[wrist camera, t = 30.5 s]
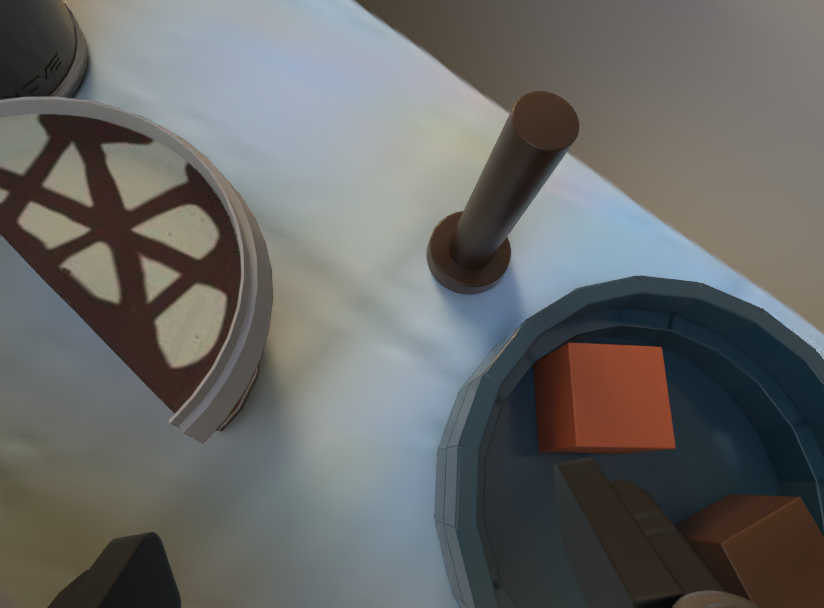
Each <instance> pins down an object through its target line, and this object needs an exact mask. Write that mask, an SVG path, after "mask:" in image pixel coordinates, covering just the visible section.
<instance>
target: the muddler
mask: <svg viewBox="0 0 824 608" xmlns="http://www.w3.org/2000/svg"><path fill="white" fill-rule="evenodd" d="M578 132H579V121H578V117H577V114H576V112H575V111H574V109H573V108H572V106H571V105H570V104H569V103H568V102H567V101H565V100H564V99H563V98H561V97H559V96H557V95H555V94H552V93H549V92H543V91H537V92H532V93H528V94H526V95H524V96H522V97H521V98H520V99H518V100H517V102H516V103H515V105H514V106H513V109H512V111H511V113H510V115H509V117H508V119H507V121H506V123H505V125H504V127H503V129H502V132H501V134H500V136H499V138H498V140H497V142H496V144H495V146H494V148H493V150H492V152H491V155H490V157H489V159H488V161H487V163H486V165H485V167H484V169H483V171H482V173H481V176H480V178H479V180H478V182H477V184H476V186H475V188H474V190H473V192H472V194H471V196H470V199H469V201H468V203H467V205H466V207H465V209H464V211H462V212H457V213H454V214H451V215H449V216H447V217H445V218H444V219H443V220H442V221H440V222H439V224H438V225H437V226H436V227H435V229H434V231H433V233H432V236H431V238H430V241H429V243H428V247H427V262H428V265H429V268H430V270H431V272H432V274H433V275H434V277H435V278H436V279H437V280H438V281H439V282H440V283H441V284H442V285H443V286H445V287H446V288H448V289H450V290H452V291H454V292H457V293H461V294H477V293H481V292H484V291H486V290H488V289H490V288H491V287H492V286H494V285H495V284H496V283H497V281H498V280H499V279H500V278H501V276H502V275H503V274H504V273H505V271H506V270H507V268H508V265H509V262H510V258H511V248H510V243H509V240H508V237H507V236H508V235H509V233H510V232H511V230H512V229H513V228H514V226H515V225H516V223H517V222H518V220H519V219H520V218H521V216H522V215H523V213H524V212H525V211H526V209H527V208H528V206H529V205H530V203H531V202H532V201H533V199H534V198H535V196H536V195H537V194H538V192H539V191H540V189H541V188H542V186H543V185H544V184H545V182H546V181H547V179H548V178H549V177H550V175H551V174H552V172H553V171H554V169H555V168H556V167H557V165H558V164H559V162H560V161H561V160H562V158H563V157H564V155H565V154H566V152H567V151H568V150H569V148H570V147H571V145H572V144H573V142H574V141H575V140H576V138H577V136H578Z"/></svg>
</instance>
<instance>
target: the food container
mask: <svg viewBox="0 0 824 608" xmlns="http://www.w3.org/2000/svg"><path fill="white" fill-rule="evenodd" d="M0 234H1V235H2V236H3V237H4V238H5V239H6V240H7V241H8V242H9V244H10V245H11V246H12V247H13V248H14V249H15V250H16V251H17V252H18V253H19V254H20V255H21V256H22V257H23V259H24V260H25V261H26V262H27V263H28V264H29V265H30V266H31V267H32V268H33V269H34V270H35V271H36V272H37V273H38V275H39V276H40V277H41V278H42V279H43V280H44V281H45V282H46V283H47V284H48V285H49V286H50V287H51V288H52V289H53V290H54V291H55V292H56V293H57V294H58V295H59V296H60V297H61V298H62V299H63V300H64V301H65V302H66V303H67V304H68V305H69V306H70V307H71V308H72V309H73V310H74V311H75V312H76V313H77V314H78V315H79V316H80V317H81V318H82V319H83V320H84V321H85V322H86V323H87V324H88V325H89V326H90V327H91V328H92V329H93V330H94V331H95V333H96V334H97V335H98V336H99V337H100V338H101V339H102V340H103V341H104V342H105V343H106V344H107V345H108V346H109V347H110V348H111V349H112V350H113V351H114V352H115V353H116V354H117V355H118V356H119V357H120V358H121V359H122V360H123V362H124V363H125V364H126V365H127V366H128V367H129V368H130V369H131V370H132V371H133V372H134V373H135V374H136V375H137V376H138V377H139V378H140V379H141V380H142V381H143V382H144V383H145V384H146V385H147V386H148V387H149V388H150V389H151V390H152V391H153V392H154V393H155V394H156V395H157V396H158V397H159V398H160V399H161V400H162V401H163V402H164V403H165V404H166V405H167V406H168V407H169V408H170V409H171V410H172V411H173V412H174V413H175V414H174V415H173V416H172V417H171V418H170V419H169V421H168V422H169V423H170V424H173V425H175V426H177V427H179V428H180V429H181V430H182V431H183V432H184V433H185V434H187V435H189V436H190V437H192V438H194V439H196V440H197V441H199V442H201V443H204V442H205V441H206V440H207V439H208V438H209V437H210V436H211V435H212V433H213V432H214V431H223V430H224V428H225V427H226V426H227V425H228V424H229V423H230V422H231V421H232V419H233V418H234V417H235V416H236V415H237V414H238V413H239V412H240V411H241V409H242V407H243V405H244V403H245V401H246V399H247V397H248V395H249V393H250V391H251V389H252V387H253V385H254V383H255V381H256V379H257V377H258V371H259V365H260V359H261V355H262V352H263V348H264V345H265V342H266V338H267V335H268V331H269V327H270V319H271V311H272V303H273V288H272V269H271V265H270V260H269V256H268V251H267V247H266V243H265V240H264V238H263V236H262V233H261V231H260V228H259V226H258V223H257V221H256V219H255V217H254V215H253V214H252V212H251V211H250V209H249V208H248V206H247V204H246V203H245V201H244V200H243V198H242V197H241V195H240V194H239V193H238V192H237V191H236V190H235V188H234V187H233V186H232V185H231V184H230V183H229V182H228V181H227V180H226V178H225V177H224V176H223V175H222V174H221V173H220V172H219V171H218V169H217V168H216V167H215V166H214V165H213V164H212V163H211V162H210V161H209V159H208V158H207V157H205V156H204V155H203V154H202V153H200V152H199V151H198V150H197V149H195V148H194V147H193V146H192V145H190V144H189V143H188V142H187V141H185V140H184V139H182V138H181V137H179V136H177V135H175V134H174V133H172V132H170V131H168V130H167V129H165V128H163V127H161V126H160V125H157V124H155V123H153V122H152V121H150V120H148V119H146V118H144V117H141V116H139V115H136V114H134V113H131V112H128V111H126V110H123V109H121V108H118V107H114V106H110V105H106V104H102V103H98V102H94V101H90V100H82V99H73V98H64V97H20V98H12V99H4V100H0Z"/></svg>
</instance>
